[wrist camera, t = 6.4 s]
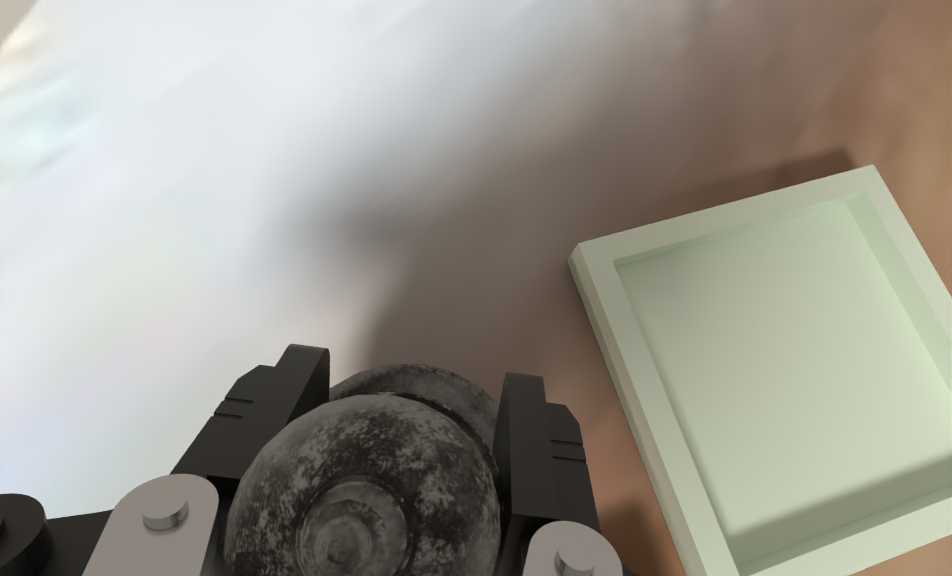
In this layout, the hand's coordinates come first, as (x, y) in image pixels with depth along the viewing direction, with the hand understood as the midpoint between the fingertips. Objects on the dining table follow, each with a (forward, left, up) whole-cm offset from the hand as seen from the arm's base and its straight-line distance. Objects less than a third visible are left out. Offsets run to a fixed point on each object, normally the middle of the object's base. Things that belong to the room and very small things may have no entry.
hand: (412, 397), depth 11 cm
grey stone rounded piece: (+1, +2, -5) cm, 6 cm away
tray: (-11, +2, -5) cm, 12 cm away
